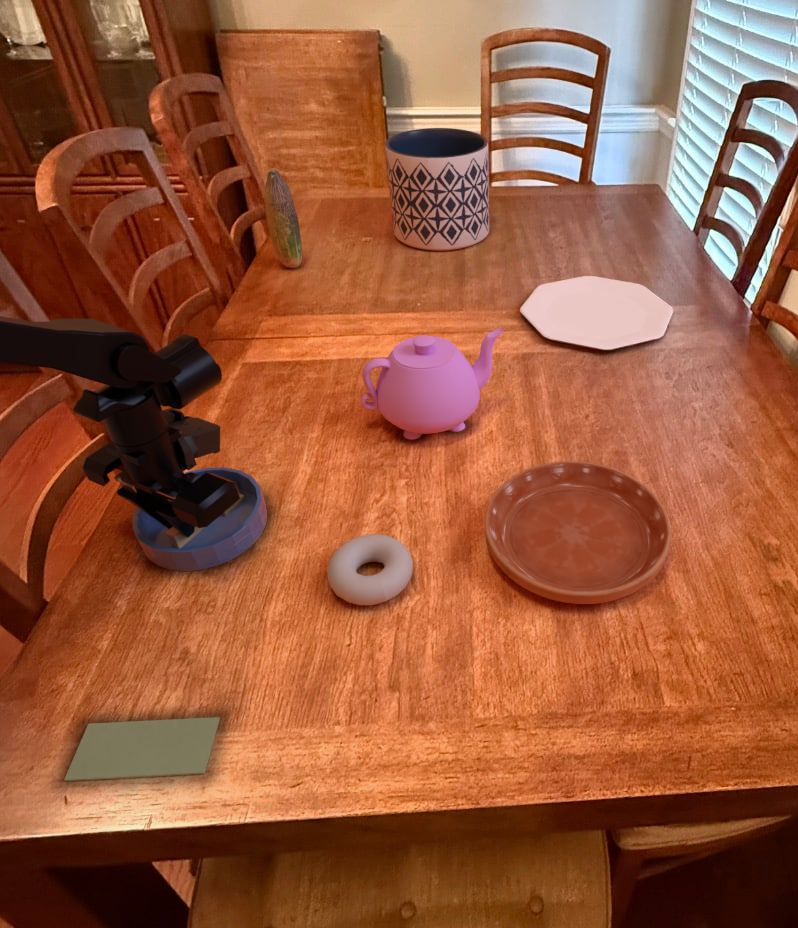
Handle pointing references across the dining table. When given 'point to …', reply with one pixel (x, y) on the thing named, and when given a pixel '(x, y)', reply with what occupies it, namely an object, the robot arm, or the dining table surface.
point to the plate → (597, 313)
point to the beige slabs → (180, 540)
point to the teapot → (428, 384)
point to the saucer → (577, 532)
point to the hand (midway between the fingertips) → (182, 531)
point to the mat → (144, 749)
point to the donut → (373, 586)
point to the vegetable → (282, 220)
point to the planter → (439, 187)
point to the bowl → (208, 530)
